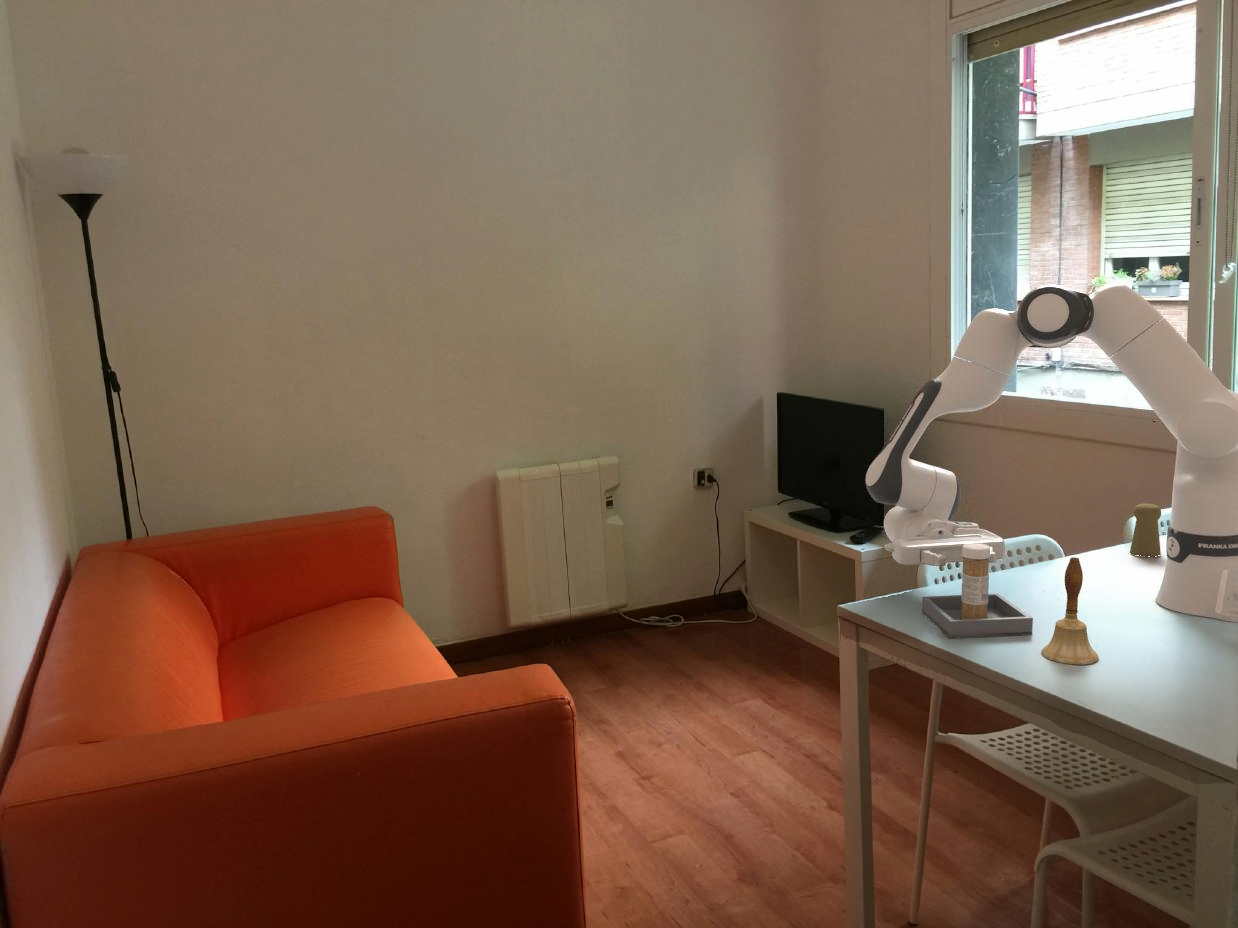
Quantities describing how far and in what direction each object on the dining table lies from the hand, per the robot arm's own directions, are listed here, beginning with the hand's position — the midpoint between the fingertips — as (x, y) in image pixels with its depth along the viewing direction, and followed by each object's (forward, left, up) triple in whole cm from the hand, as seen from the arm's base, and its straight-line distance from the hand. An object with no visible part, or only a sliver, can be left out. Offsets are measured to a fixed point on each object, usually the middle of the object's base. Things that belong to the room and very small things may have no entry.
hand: (967, 560), depth 173 cm
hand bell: (-9, +20, -11) cm, 24 cm away
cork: (-53, -36, -11) cm, 65 cm away
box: (0, +3, -11) cm, 11 cm away
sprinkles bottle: (0, +3, -10) cm, 11 cm away
